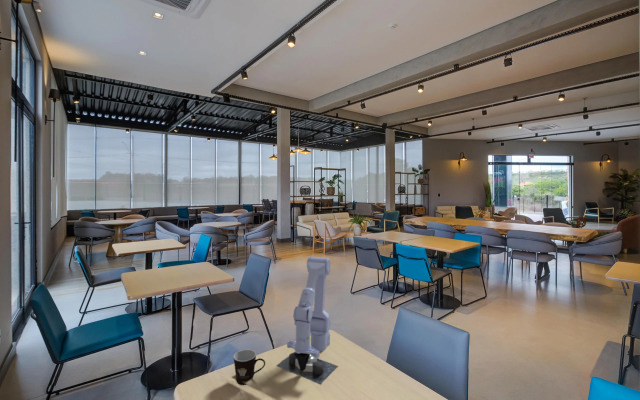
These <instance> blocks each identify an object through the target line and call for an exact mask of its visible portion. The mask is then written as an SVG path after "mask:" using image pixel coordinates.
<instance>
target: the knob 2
mask: <svg viewBox="0 0 640 400" xmlns="http://www.w3.org/2000/svg"><path fill="white" fill-rule="evenodd" d="M304 371H306V372H313V374H315V375H321V374H323V363H322V362H314V363H313V364H310V363H307V364H306V369H305V370H304Z"/></svg>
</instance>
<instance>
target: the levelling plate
mask: <svg viewBox="0 0 640 400" xmlns="http://www.w3.org/2000/svg"><path fill="white" fill-rule="evenodd" d="M293 353H296V352H295V351H294V352H293ZM314 362H322V363H323V374H321V375H315V374H313V372H306V371H301V370H300V369H299V368H298V367H297V366H296V365H295V366H293V365H290V364H289V356H287V357H286V358H285V359H283V360H281V361H280V362H279V363H278V364H276V365H275V366H276V367H278V368H280V369H283V370H286V371H287V372H289V373H292V374H295V375H297V376H300V377H302V378H305V379H306V380H310V381H311V382H313V383H316V384H319V385H321V384H323V383H324V382H325V381H326V380H327V378H329V376H330V375H331V374H332V373H334V371H336V369H337V368H339V366H338V365H337V364H333V363H331V362H328V361H326V360H323V359H320V358H315V356H312V355H310V356H309V358H308V361H307V363H310V364H313V363H314Z"/></svg>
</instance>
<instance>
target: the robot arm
mask: <svg viewBox="0 0 640 400" xmlns="http://www.w3.org/2000/svg"><path fill="white" fill-rule="evenodd" d="M306 268H307V272H308V276H307V280H306V286H305V288H303V289H302V291H301V294H300V299H299V301H298V304H297V306H295V308H294V309H293V321H294V326H295V341H291V340H290V341H288V342H287V343H286V348H288V349H293V350H294V352H296V353H295V357H296V359H297V361H298V363H299V367H300V370H301V371H304V370H305V369H306V364H307V361H308V358H309V356H310V355H312V356H315V358H317V359H319V357H320V352H323V351H326V350H327V347H329V346H331V333H330V328H331V319H330V318H331V317H330V314H329V313H328V312H327V311H326V310H325V301H326V299H325V298H326V296H325V295H326V280H327V276H328V275H330V273H331V260H330V258H329V257H321V256H320V257H319V256H310V255H309V257H308V258H307V260H306ZM313 305H314V306H313Z"/></svg>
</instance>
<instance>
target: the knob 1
mask: <svg viewBox="0 0 640 400" xmlns="http://www.w3.org/2000/svg"><path fill="white" fill-rule="evenodd" d="M289 364H290V365H293V366H295V365H296V366H297V367H298V368H299V369H300V367H299V363H298V361H297V359H296V357H295V353H294V352H291V353H290V354H289Z"/></svg>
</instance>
